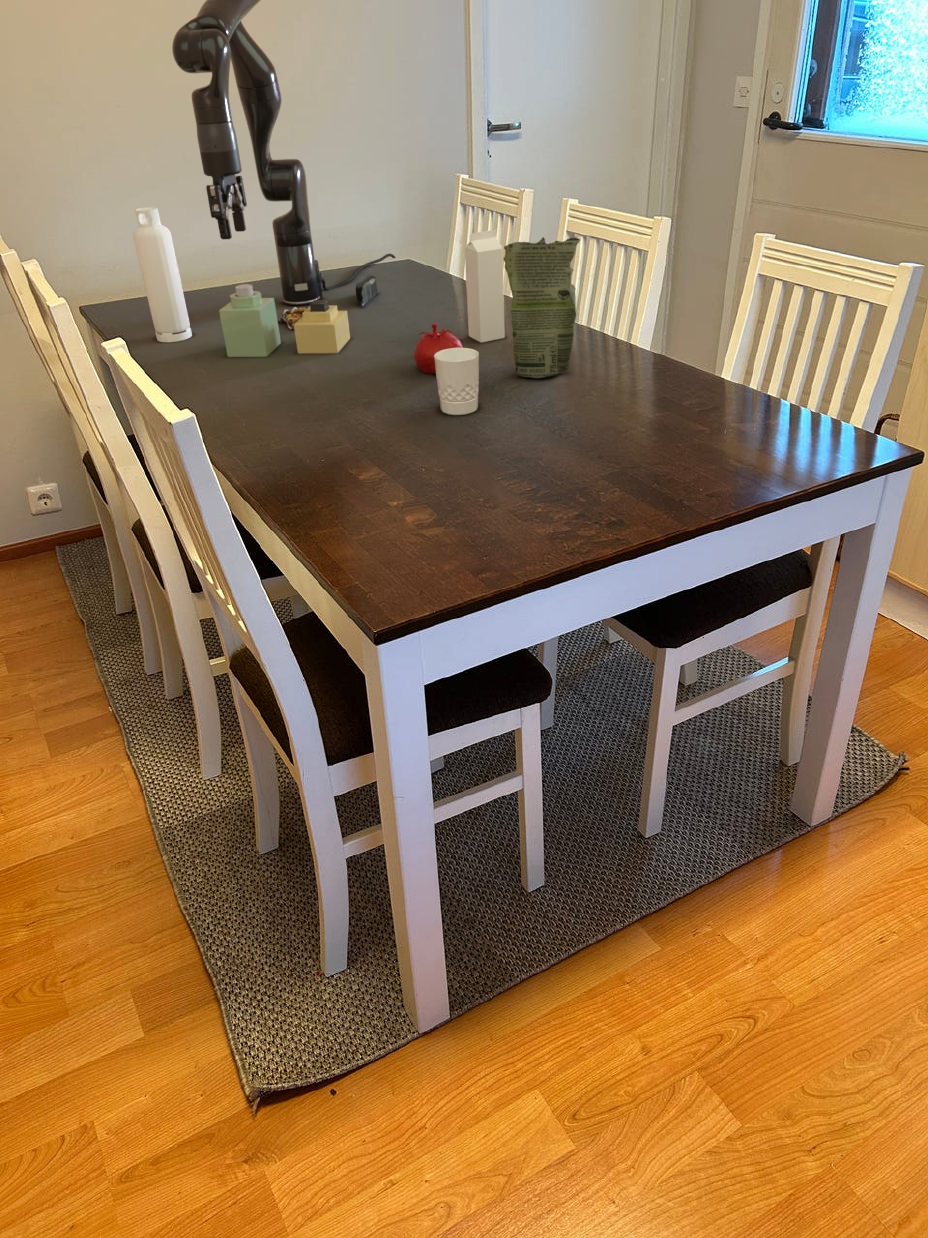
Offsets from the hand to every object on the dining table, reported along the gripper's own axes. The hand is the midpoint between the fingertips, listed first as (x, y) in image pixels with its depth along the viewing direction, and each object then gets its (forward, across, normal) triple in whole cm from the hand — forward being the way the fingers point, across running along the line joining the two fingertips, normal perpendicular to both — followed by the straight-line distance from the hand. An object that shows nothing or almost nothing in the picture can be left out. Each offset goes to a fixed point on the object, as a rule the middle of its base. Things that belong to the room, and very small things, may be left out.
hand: (233, 234), depth 194 cm
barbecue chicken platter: (+24, +20, -4) cm, 32 cm away
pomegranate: (+24, -14, -44) cm, 52 cm away
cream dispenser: (+24, +3, -16) cm, 29 cm away
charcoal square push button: (+17, +3, -16) cm, 23 cm away
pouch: (+24, -15, -65) cm, 71 cm away
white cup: (+24, -36, -52) cm, 68 cm away
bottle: (+24, +10, +23) cm, 35 cm away
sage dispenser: (+24, 0, 0) cm, 24 cm away
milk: (+24, +9, -51) cm, 57 cm away
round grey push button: (+13, 0, 0) cm, 13 cm away
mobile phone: (+24, +42, -16) cm, 51 cm away
